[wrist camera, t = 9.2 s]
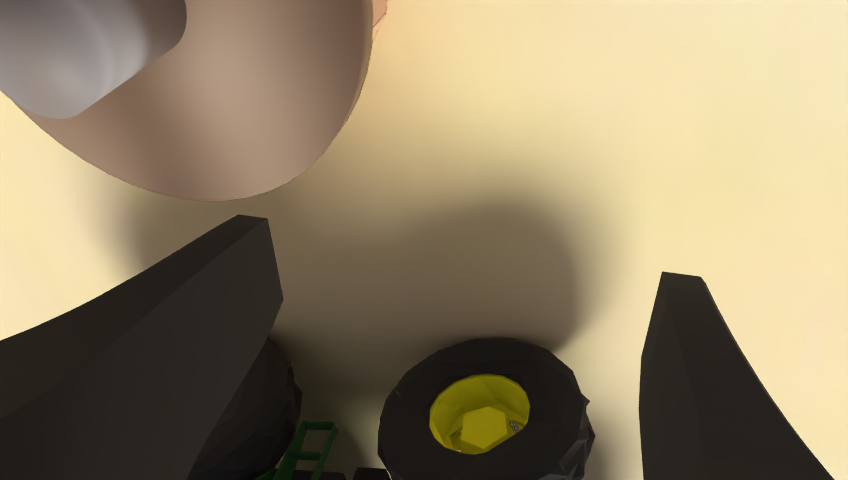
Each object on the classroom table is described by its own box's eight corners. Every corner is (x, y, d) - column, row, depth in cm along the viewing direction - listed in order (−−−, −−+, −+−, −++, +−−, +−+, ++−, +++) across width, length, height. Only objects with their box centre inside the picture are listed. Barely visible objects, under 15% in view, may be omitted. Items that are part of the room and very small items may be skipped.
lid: (321, -355, 12) (198, -383, 9) (401, 194, 19) (350, 298, 16) (-162, -270, 15) (-393, -267, 12) (56, 178, 22) (-51, 262, 19)
